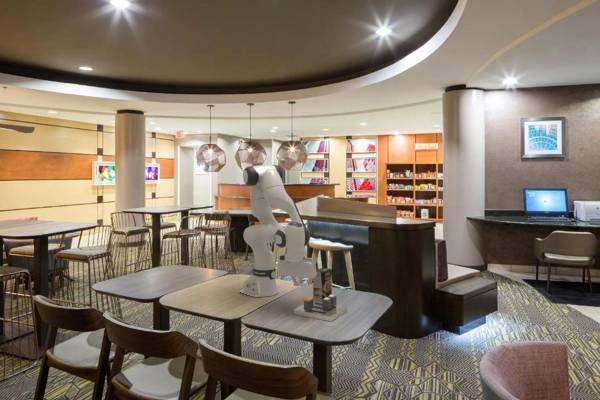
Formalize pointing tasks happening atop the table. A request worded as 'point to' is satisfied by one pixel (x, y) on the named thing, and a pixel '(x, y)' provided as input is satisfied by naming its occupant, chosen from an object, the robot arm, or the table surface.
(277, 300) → the table surface
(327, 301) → the block
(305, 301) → the breaker
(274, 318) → the table surface
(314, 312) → the panel
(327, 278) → the coffee box
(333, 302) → the breaker
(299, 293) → the table surface
